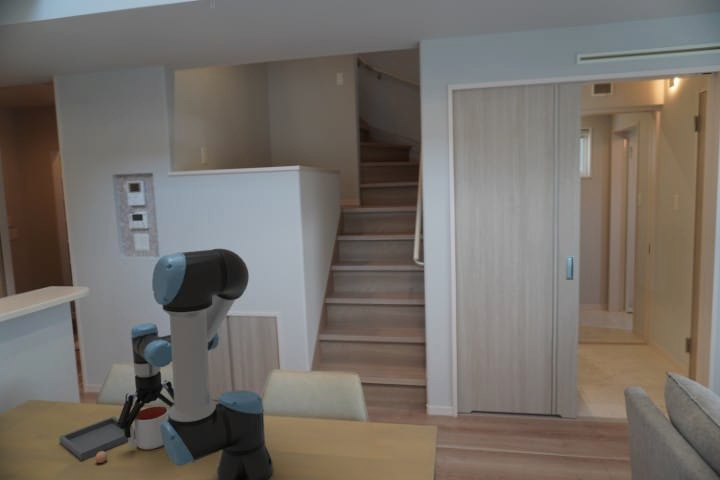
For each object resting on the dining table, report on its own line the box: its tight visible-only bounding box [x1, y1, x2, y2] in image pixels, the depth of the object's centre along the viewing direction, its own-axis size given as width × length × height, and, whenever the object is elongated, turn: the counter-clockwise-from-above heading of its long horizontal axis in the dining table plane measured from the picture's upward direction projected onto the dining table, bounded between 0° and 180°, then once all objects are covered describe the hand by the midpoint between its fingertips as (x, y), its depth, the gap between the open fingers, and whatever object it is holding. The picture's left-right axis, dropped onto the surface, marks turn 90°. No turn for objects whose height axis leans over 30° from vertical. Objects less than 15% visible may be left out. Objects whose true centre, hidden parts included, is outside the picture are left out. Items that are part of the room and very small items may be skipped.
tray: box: [58, 416, 136, 462], centre depth 156 cm, size 17×17×2 cm
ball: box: [94, 451, 108, 464], centre depth 143 cm, size 3×3×3 cm
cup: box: [133, 405, 169, 450], centre depth 153 cm, size 10×10×10 cm
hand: (152, 436), depth 154 cm, fingers open, 13 cm apart
